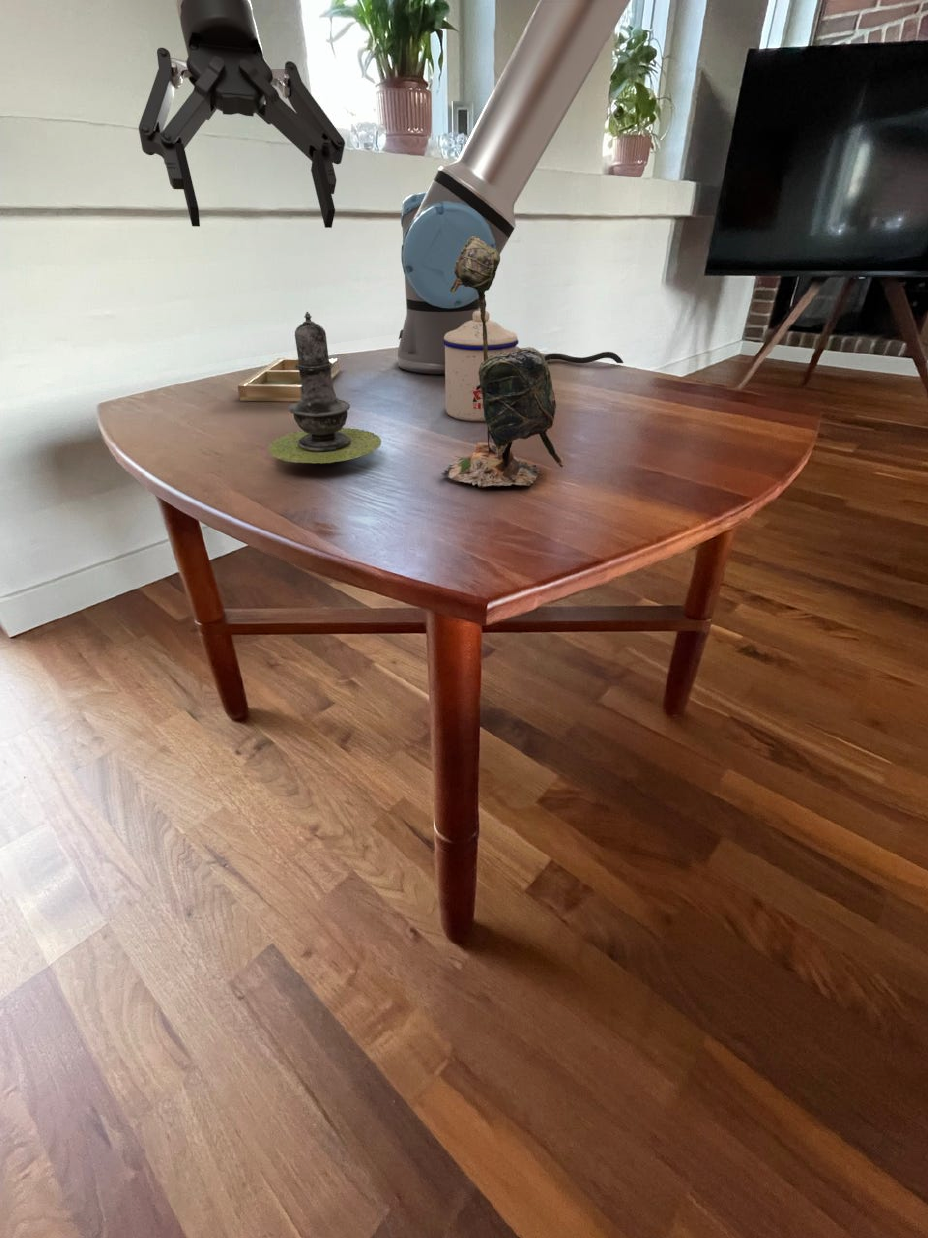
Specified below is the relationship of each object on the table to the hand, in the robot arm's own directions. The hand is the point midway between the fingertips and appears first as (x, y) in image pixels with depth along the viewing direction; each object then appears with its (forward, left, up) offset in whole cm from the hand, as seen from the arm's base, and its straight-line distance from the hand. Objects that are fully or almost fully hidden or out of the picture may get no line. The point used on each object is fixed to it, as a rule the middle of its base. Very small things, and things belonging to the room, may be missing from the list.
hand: (265, 218), depth 64 cm
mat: (-7, +14, -21) cm, 26 cm away
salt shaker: (-7, +14, -19) cm, 25 cm away
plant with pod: (-25, +18, -21) cm, 37 cm away
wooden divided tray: (+6, -18, -21) cm, 28 cm away
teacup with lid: (-23, -6, -21) cm, 32 cm away
